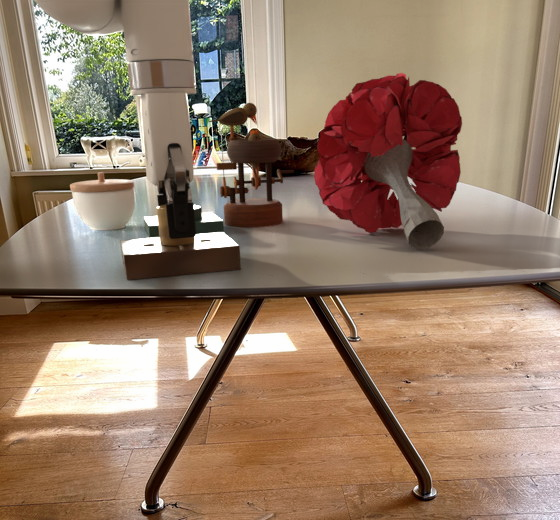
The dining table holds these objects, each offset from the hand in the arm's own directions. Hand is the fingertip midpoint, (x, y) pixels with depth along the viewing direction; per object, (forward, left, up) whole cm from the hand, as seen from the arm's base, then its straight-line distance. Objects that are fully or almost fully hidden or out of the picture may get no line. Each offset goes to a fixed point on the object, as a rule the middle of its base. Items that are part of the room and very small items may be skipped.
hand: (177, 230), depth 76 cm
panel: (0, 0, -4) cm, 4 cm away
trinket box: (-8, +35, -5) cm, 36 cm away
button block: (+4, +25, -4) cm, 26 cm away
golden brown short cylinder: (0, 0, -1) cm, 1 cm away
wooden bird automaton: (+18, +29, -5) cm, 34 cm away
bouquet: (+34, +9, -5) cm, 35 cm away
